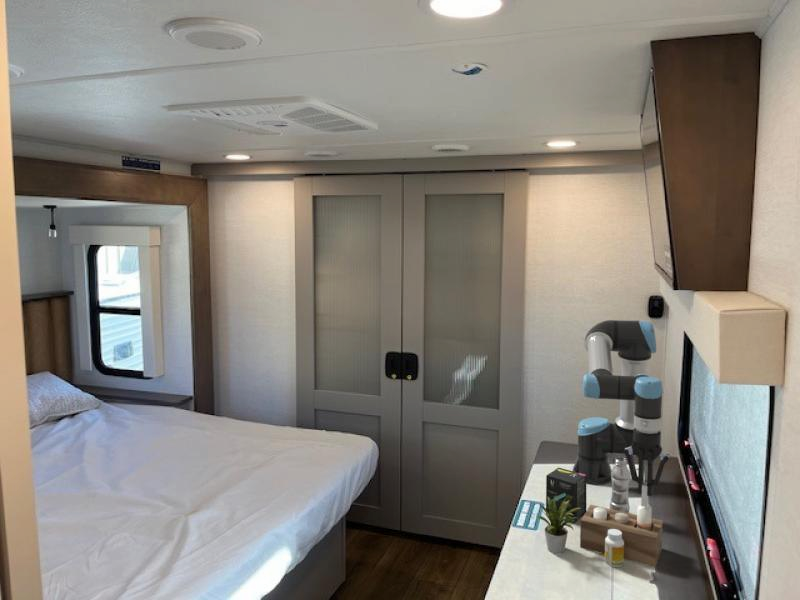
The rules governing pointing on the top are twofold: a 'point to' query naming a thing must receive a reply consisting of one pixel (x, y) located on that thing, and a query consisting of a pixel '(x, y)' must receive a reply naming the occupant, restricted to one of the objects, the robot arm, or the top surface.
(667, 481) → the top surface
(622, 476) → the plastic bottle
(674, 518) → the top surface
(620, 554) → the supplement bottle
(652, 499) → the top surface
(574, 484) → the tampon box
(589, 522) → the wooden holder rack
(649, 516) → the knob
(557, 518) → the house plant
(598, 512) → the knob
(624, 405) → the robot arm
